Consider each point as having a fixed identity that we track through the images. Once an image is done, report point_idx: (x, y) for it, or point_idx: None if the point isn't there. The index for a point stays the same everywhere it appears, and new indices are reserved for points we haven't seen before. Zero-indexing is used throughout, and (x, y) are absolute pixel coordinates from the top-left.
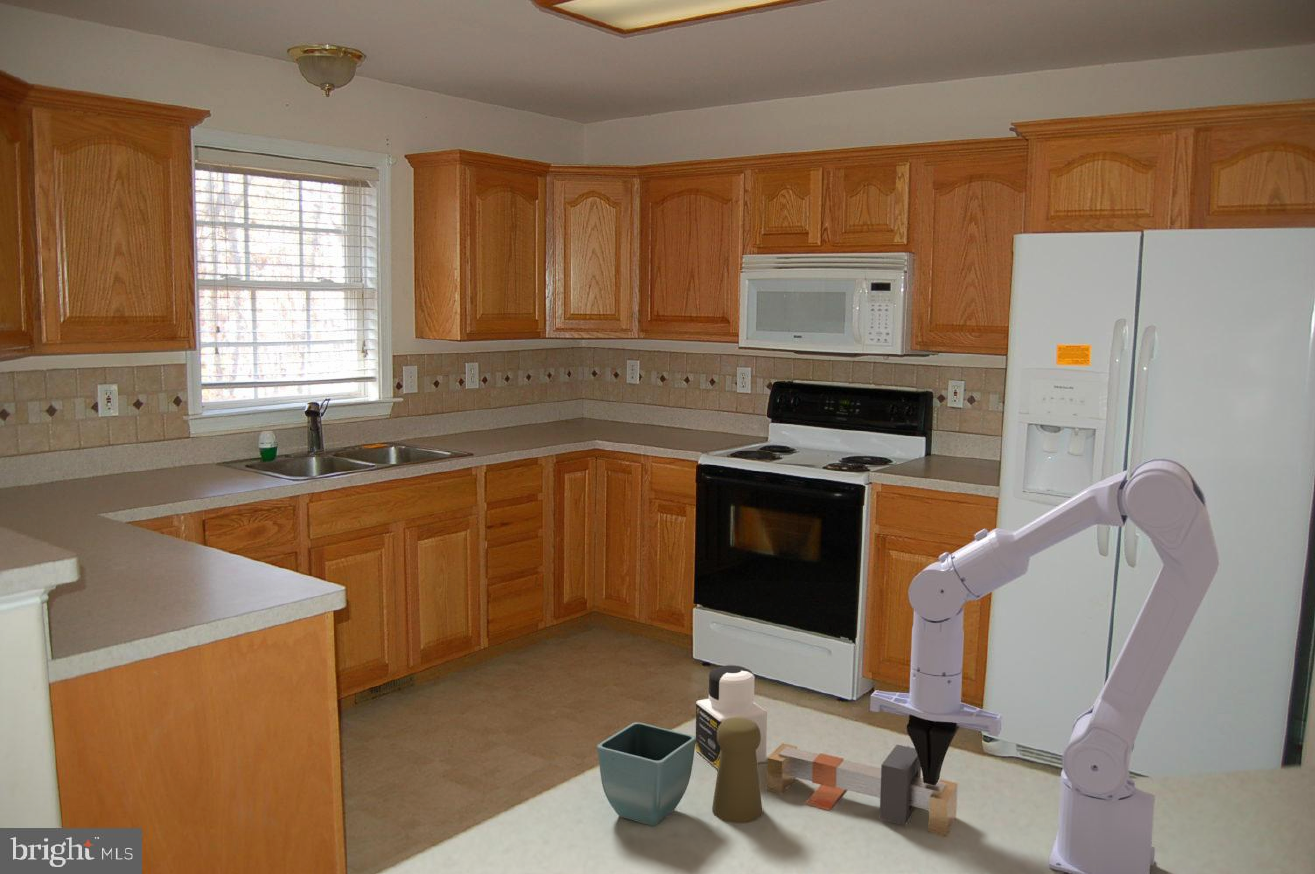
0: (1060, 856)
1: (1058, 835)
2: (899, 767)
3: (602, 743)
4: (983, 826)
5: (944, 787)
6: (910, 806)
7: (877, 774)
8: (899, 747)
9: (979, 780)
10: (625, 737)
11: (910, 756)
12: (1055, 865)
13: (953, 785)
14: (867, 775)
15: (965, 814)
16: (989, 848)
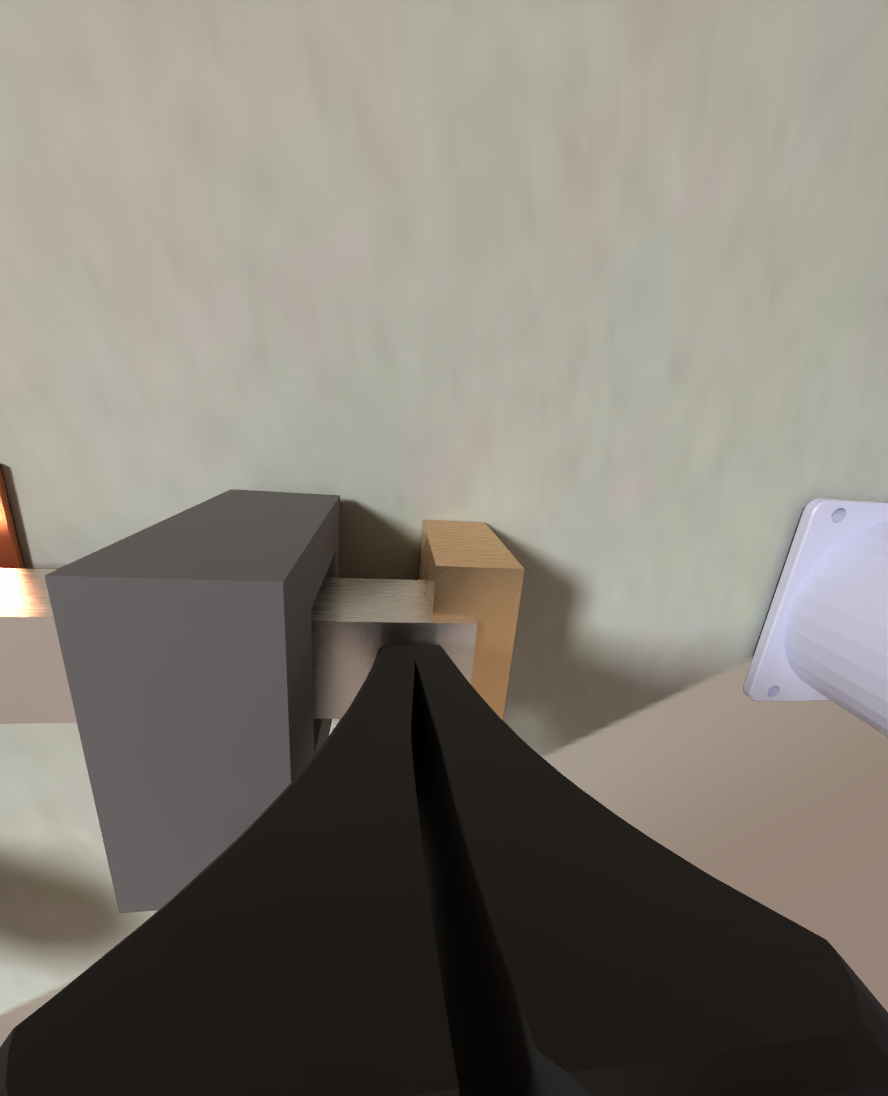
0: (789, 658)
1: (838, 665)
2: None
3: None
4: (577, 542)
5: (472, 662)
6: None
7: None
8: (98, 623)
9: (553, 72)
10: None
11: (245, 732)
12: (764, 698)
13: (507, 604)
14: (71, 716)
15: (514, 483)
16: (594, 663)
